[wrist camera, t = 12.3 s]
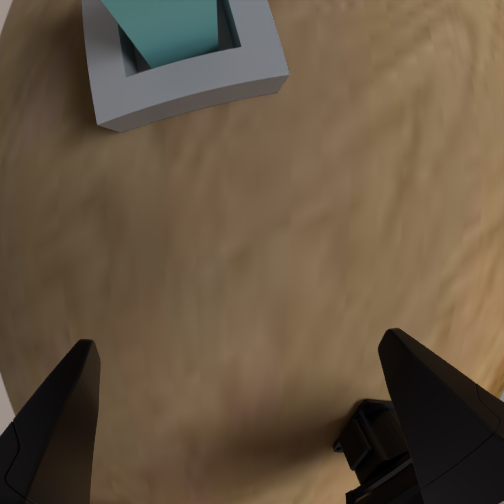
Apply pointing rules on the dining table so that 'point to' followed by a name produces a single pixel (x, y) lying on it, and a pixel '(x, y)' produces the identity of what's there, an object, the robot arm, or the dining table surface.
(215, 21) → the plug
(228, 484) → the dining table surface
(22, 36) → the dining table surface
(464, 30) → the dining table surface
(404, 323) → the dining table surface
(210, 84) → the socket
